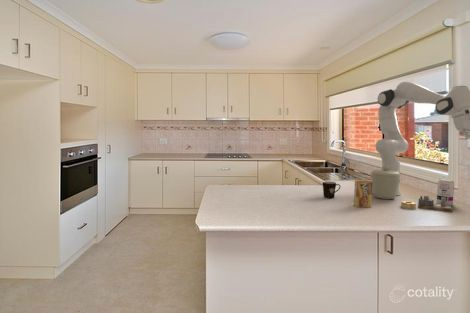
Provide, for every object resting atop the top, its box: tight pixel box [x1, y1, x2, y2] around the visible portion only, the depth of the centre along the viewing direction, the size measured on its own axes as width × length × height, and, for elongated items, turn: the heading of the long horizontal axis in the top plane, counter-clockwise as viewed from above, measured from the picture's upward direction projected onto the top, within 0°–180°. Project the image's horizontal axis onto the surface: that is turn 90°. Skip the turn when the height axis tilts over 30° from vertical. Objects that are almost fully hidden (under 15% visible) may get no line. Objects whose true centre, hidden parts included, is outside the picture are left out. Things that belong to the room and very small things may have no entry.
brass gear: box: [400, 200, 417, 210], centre depth 175 cm, size 7×7×3 cm
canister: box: [370, 166, 402, 200], centre depth 199 cm, size 18×18×21 cm
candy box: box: [353, 179, 373, 208], centre depth 176 cm, size 9×4×15 cm, turn 86°
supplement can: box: [436, 178, 455, 207], centre depth 183 cm, size 8×8×15 cm
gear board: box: [417, 195, 453, 213], centre depth 174 cm, size 16×10×6 cm, turn 60°
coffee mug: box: [322, 180, 341, 200], centre depth 198 cm, size 12×9×10 cm
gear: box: [418, 195, 435, 206], centre depth 176 cm, size 7×7×5 cm
